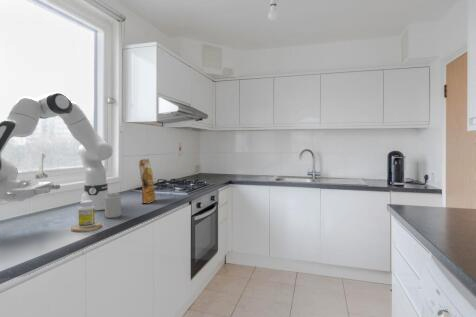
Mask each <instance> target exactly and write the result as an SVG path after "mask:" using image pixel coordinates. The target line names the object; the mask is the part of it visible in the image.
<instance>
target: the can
mask: <svg viewBox="0 0 476 317" xmlns="http://www.w3.org/2000/svg"><path fill="white" fill-rule="evenodd" d="M121 199H122V197H121V195H120V193H119V192H111V193H110V192H109V194H106V196H105V209H104V216H105V217H106V219H116V218H119V217H120V216H121V215H122V204H121V202H122V201H121Z"/></svg>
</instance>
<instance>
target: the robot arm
mask: <svg viewBox="0 0 476 317" xmlns="http://www.w3.org/2000/svg"><path fill="white" fill-rule="evenodd" d="M56 117H59V118H61V120H62V121H63V123H64V124H65V126H66V128H67V129H68V131H69V132H70V134H71V136H72V137H73V139H74V140H76V141H77V142H78V143H80V146H79V147H78V149H77V154H78V155H79V157H80V160H81V162H82V166H83V171H84V187H83V189H84V192H83V194H82V195H81V201H86V200H92V205H93V206H94V210H95V211H103V210H105V196H106V194H109V193H110V192H109V190H108V189H109V188H108V186H109V184H108V183H107V170H106V168H105V167H104V165H103V161H106V160H109V159H110V158H111V157H112V155H113V148H112V146H111V145H110V144H109V142H108V143H107V142H106V141H105V140H104V139H103V138H102V137H101V136H100V135H99V133H98V132H97V131H96V130H95V129H94V127H93V125H92V124H91V122H90V121H89V119H88V117H87V115H86V113H85V112H84V111H83V110H82V109H81V107H80V106H79V105H78V103H76V102H74V101H72V100H70V98H69V97H68V96H67V95H66V94H65V93H62V92H55V91H54V92H51V93H47V94H43V95H41V96H39V97H37V98H34V97H31V96H22V97H20V98H19V99H17V101H16V102H15V103H14V105H13V106H12V108H11V110H10V112H9V113H8V116H7V117H6V119H5V120H2V121H1V122H0V202H11V203H12V202H23V201H25V200H26V199H31V198H34V197H36V196H39V195H43V194H49V193H50V192H51V191H53V190H60V189H61V185H60V184H54V183H53V182H52V181H34V180H32V179H31V180H25V179H19V180H18V179H17V177H18V173H19V172H18V168H17V166H16V165H14V164H13V163H11V162H9V161H7V160H5V159H4V158H2V153H3V151H4V150H5V148H6V146H7V145H8V143H9V141H10V140H11V139H12V138H14V137H16V138H26V137H29V136H31V135H33V133H34V132H35V130H36V129H37V126H38V124H39V121H40V119H43V120H45V119H48V118H56Z"/></svg>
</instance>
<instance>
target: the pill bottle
mask: <svg viewBox="0 0 476 317" xmlns="http://www.w3.org/2000/svg"><path fill="white" fill-rule="evenodd" d="M79 205H80V206H79V207H78V225H79V227H81V228H87V227H92V226H94V225H95V223H96V221H95V220H96V217H95V216H96V214H95V211H96V210H94V206H93V205H92V200H86V201H82V200H81V201H80V202H79Z"/></svg>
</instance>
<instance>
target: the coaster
mask: <svg viewBox="0 0 476 317" xmlns="http://www.w3.org/2000/svg"><path fill="white" fill-rule="evenodd" d="M102 227H103V224H102V223H101V222H95V225H94V226H92V227H87V228H81V227H79V224H75V225H73V226H71V228H70V231H71V232H73V233H85V232H86V233H87V232H93V231H96V230H99V229H101V228H102Z"/></svg>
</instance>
